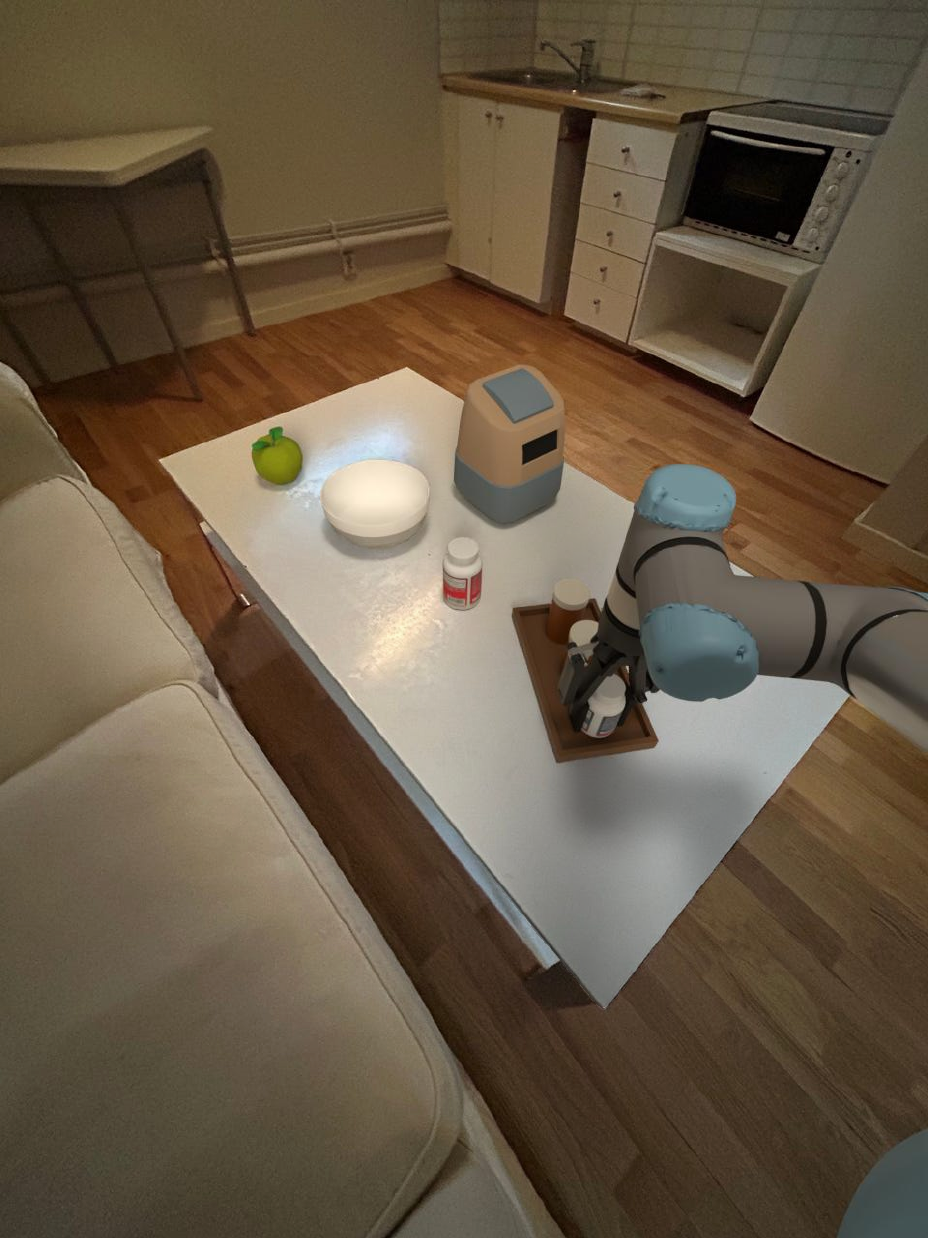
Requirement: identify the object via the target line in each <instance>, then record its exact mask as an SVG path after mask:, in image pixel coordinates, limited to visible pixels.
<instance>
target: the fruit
mask: <svg viewBox="0 0 928 1238" xmlns="http://www.w3.org/2000/svg"><path fill="white" fill-rule="evenodd" d="M283 434H284V428H283V426H275V427H272V428H270V429H269V430H268V434H266V435H264V436H260V437H259V438H258V439H257V440H256V441H255V442H253V443H252V444H251V447H252V448H251V459H252V462H253V466H254V469H255V471H256V472H257V474H258V475H259V476H260V478H262V479H264V481H266V482H269V483H271V484H274V485H278V486H282V485H286V484H291V483H293V482H294V481H295V480H296V479H297V477H298V476H299V475H300V473H301V471H302V469H303V468H302V467H303V462H304V456H303V451H302V449H301V446H300V445H299V444H298V442H297V441H296V440H294V439H292V438H291V437H289V436H285V435H283Z"/></svg>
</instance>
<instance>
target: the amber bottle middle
mask: <svg viewBox="0 0 928 1238" xmlns="http://www.w3.org/2000/svg"><path fill="white" fill-rule="evenodd" d="M597 631H598V622H595V621H592V620H581V621H578V622H576V623H575V624H574V625H573V626H572V627H571V630H570V633H569V640H568V643H570V642H575V643H576V644H577V647H579V646H582V645H585V644H588V643H590V640H591V638H592V637H593V636H594V635H595V634H596V633H597ZM568 643H567V644H568ZM567 656H568V653H567V649H566V651H565V654H564V658H563V662H562V665H561V669H560V675H562V672H563V669H564V666H565V663H566V659H567ZM591 660H592V655H591V656H590V657H589V659H588V660H587V662H588V664H589V662H590V661H591ZM585 668H586V666H584V669H585Z"/></svg>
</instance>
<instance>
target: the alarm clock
mask: <svg viewBox="0 0 928 1238" xmlns="http://www.w3.org/2000/svg"><path fill="white" fill-rule="evenodd" d="M565 409H566V408H565V401H564V399H563V396H562V395H561V392H560V391H558V390H557V388H555V386H554V385H553V384H552V383H551V382H550V380H549V379H548V378H547V377H546V376H545V375H544V374H543V373H542V372H541V370H539V369H538V368H536V367H535V366H532V365H529V364H526V363H525V364H515V365H513V366H510V367H507V368H505V369H502V370H499V371H496V372H493V373H491V374H488V375H486V376H482V377H480V378H478V379H475V380H473V381H472V382H471V383H469V385H468V386H467V388H466V393H465V396H464V401H463V406H462V411H461V415H460V421H459V429H458V438H457V446H456V447H455V453H454V466H453V467H454V469H453V482H454V485H455V488H456V490H457V491H458V493H459V494H460V496H462V497H463V498H464V499H465V500H466V501H467V502H469V503H470V504H472V505H473V506H474V507H475V508H476V509H478V510H479V511H480V512H482V513H483V514H484V515H485V516H487V517H488V518H489V519H491V520H492V521H495V522H497V523H499V524H509V523H514V522H516V521H518V520H520V519H522V518H524V517H526V516H528V515H530V514H532V513H534V512H535V511H537V510H539V509H541V508H543V507H545V506H546V505H547V504H549V503H551V502H552V501H554V499H555V498H556V497H557V495H558V494H559V492H560V491H561V486H562V479H563V473H564V465H565V457H564V453H565V452H564V451H565V450H564V449H565V440H566V411H565Z"/></svg>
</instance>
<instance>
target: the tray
mask: <svg viewBox="0 0 928 1238" xmlns="http://www.w3.org/2000/svg"><path fill="white" fill-rule="evenodd" d="M550 606H551V602H550V603H543V604H534V605H526V606H517V607H512V612H511V618H512V622H513V625H514V628H515V631H516V635H517V638H518V642H519V645H520V648H521V651H522V654H523V659H524V662H525V664H526V668H527V671H528V674H529V677H530V681H531V683H532V688H533V691H534V694H535V697H536V700H537V704H538V707H539V711H540V713H541V717H542V720H543V723H544V727H545V730H546V734H547V737H548V740H549V744H550V746H551V750H552V753H553V757H554V759H555V763H556V764H560V763H561V764H562V763H566V762H573V761H580V760H585V759H592V758H599V757H605V756H612V755H618V754H623V753H624V754H625V753H632V752H637V751H643V750H650V749H655V748H656V747H657V745H658V743H659V738H658V736H657V734H656V731H655V729H654V726H653V724H652V722H651V720H650V718H649V716H648V714H647V711H646V709H645V707H644V703H637V705H636V706H635V707H633V708H631V710H630V712H629V714H628V716H627V718H626V720H625V722H624V724H623V726H617V725H616V727H615V729H614V731H613V732H612V733H611V734H610V735H608V736H606V737H603V738H596V737H592V736H589V735H587V734H586V733H584V732H583V731H582V730H581V731H580V732H577V733H575V732H574V729H573V726H572V723H571V720H570V717H569V711H568V708H567V706H563V704H562V701H561V698H560V695H559V692H558V689H557V687H558V684H559V681H560V678H561V675H560V669H561V665H562V662H563V658H564V654H565V651H566V645H567V644H557V643H555V642H553V641H551V640H550V639H549V638H548V636H547V635H546V625H547V620H548V615H549V611H550ZM601 612H602V609H601V608H600V606H599V604H598V602H597V600H596V598H595V597H594V598H589V601H588V603H587V605H586V608H585V612H584V615H583V619H582V620H592V621H595V622H598V623H599V618H600V615H601ZM614 674H615V675H617V676H619V677H620V678H621V679H622V680H623V681H624V683H626V682H628V684H629V685H630V683H629V670H628V669H627V666H622V667H619V668H618V669H617V670H616V672H615V673H614Z"/></svg>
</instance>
